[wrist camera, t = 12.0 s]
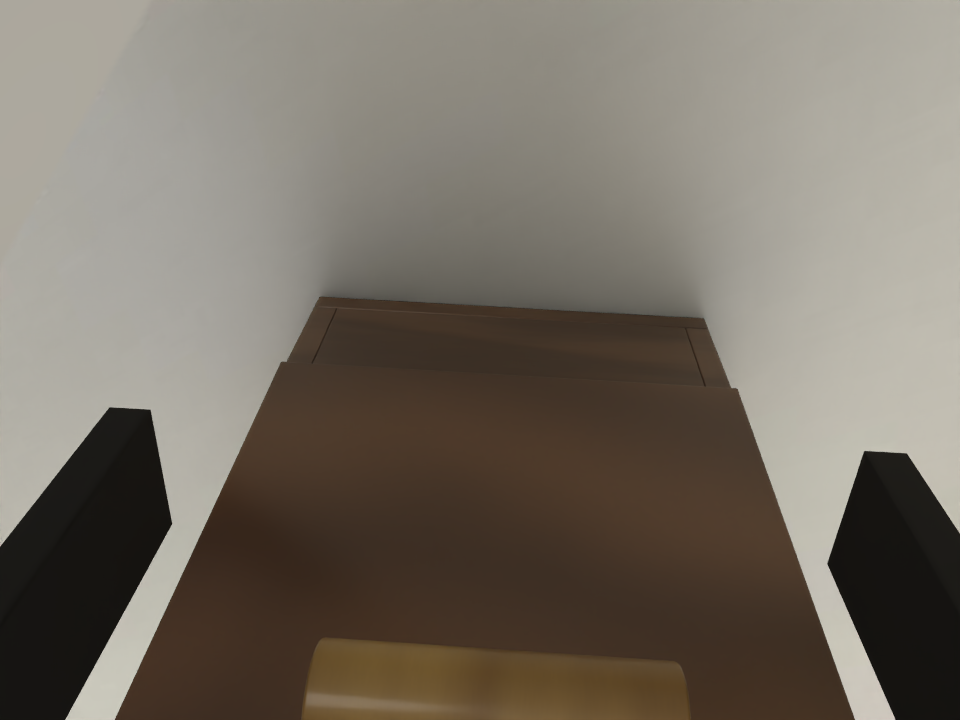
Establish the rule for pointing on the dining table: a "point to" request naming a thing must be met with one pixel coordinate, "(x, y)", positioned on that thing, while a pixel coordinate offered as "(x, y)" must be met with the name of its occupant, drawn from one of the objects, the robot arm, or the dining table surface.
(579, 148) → the dining table surface
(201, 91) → the dining table surface
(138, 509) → the robot arm
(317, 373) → the lid
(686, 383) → the wooden box
